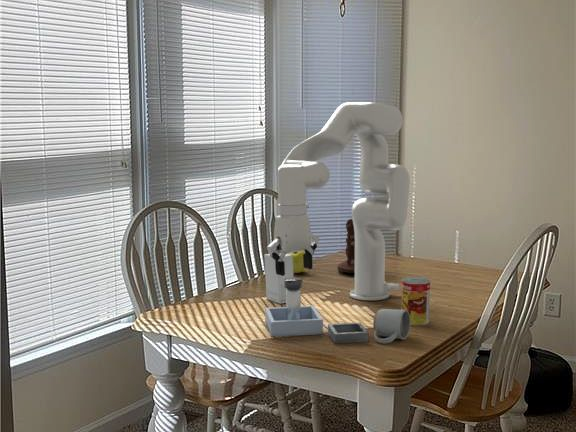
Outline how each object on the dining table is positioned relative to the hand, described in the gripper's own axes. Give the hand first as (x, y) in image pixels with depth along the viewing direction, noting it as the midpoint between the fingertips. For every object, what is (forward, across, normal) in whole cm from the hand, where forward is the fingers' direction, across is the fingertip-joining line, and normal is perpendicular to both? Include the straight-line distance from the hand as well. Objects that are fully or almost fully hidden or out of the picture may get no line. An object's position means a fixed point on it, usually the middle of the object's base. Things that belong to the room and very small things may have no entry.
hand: (294, 271), depth 207 cm
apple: (+18, -41, -50) cm, 67 cm away
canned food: (+17, -29, +18) cm, 38 cm away
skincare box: (+17, -13, -25) cm, 33 cm away
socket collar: (+16, -4, +16) cm, 23 cm away
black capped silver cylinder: (+15, +1, 0) cm, 15 cm away
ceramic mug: (+16, -13, +24) cm, 32 cm away
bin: (+16, +1, 0) cm, 16 cm away
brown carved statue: (+18, -58, -37) cm, 71 cm away
